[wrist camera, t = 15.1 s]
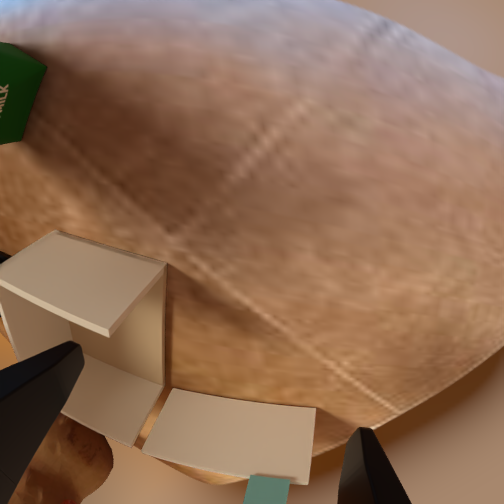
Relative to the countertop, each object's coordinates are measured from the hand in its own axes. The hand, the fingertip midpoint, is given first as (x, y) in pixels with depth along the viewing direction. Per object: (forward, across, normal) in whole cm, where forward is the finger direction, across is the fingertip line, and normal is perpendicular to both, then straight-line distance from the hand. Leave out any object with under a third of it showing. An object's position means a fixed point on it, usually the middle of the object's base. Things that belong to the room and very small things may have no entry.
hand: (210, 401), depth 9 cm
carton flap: (+13, -1, +17) cm, 21 cm away
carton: (+13, +12, +11) cm, 21 cm away
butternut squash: (+13, +20, +34) cm, 42 cm away
